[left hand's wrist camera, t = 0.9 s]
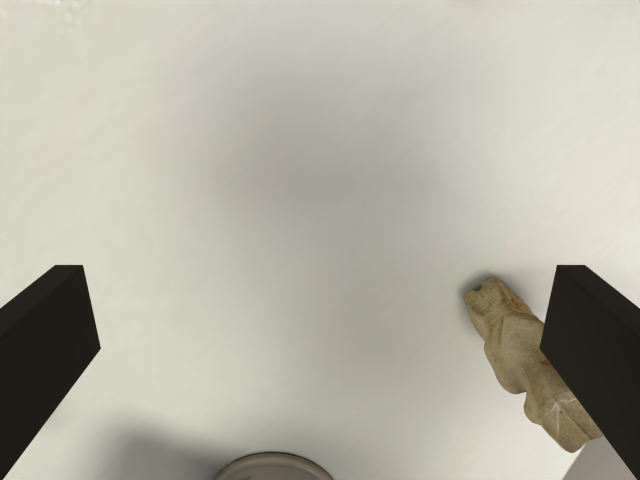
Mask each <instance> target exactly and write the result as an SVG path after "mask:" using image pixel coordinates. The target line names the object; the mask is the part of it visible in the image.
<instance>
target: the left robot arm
mask: <svg viewBox="0 0 640 480" xmlns="http://www.w3.org/2000/svg"><path fill="white" fill-rule="evenodd" d="M100 349H101V347H100V342H99V338H98V333H97V328H96V324H95V319H94V314H93V310H92V305H91V300H90V296H89V291H88V286H87V282H86V277H85V273H84V268H83V265H55V266H53V267H52V268H51V269H50V270H48V271H47V272H46V273H45V274H43V275H42V276H41V277H40V278H38V279H37V280H36V281H34V282H33V283H32V284H31V285H29V286H28V287H27V288H26V289H24V290H23V291H22V292H21V293H19V294H18V295H17V296H16V297H14V298H13V299H12V300H11V301H9V302H8V303H7V304H5V305H4V306H3V307H2V308H0V480H3V479H4V477H5V476H6V475H7V473H8V472H9V471H10V469H11V468H12V467H13V465H14V464H15V463H16V461H17V460H18V459H19V457H20V456H21V455H22V453H23V452H24V451H25V449H26V448H27V447H28V445H29V444H30V443H31V441H32V440H33V439H34V437H35V436H36V435H37V433H38V432H39V431H40V429H41V428H42V427H43V425H44V424H45V423H46V421H47V420H48V419H49V417H50V416H51V415H52V413H53V412H54V410H55V409H56V408H57V406H58V405H59V404H60V402H61V401H62V400H63V398H64V397H65V396H66V394H67V393H68V392H69V390H70V389H71V388H72V386H73V385H74V384H75V382H76V381H77V380H78V378H79V377H80V376H81V374H82V373H83V372H84V370H85V369H86V368H87V366H88V365H89V364H90V362H91V361H92V360H93V358H94V357H95V356H96V354H97V353H98V352H99V350H100ZM539 349H540V350H541V352H542V353H543V354H544V356H545V357H546V358H547V360H548V361H549V362H550V364H551V365H552V366H553V368H554V369H555V370H556V372H557V373H558V374H559V376H560V377H561V378H562V380H563V381H564V382H565V384H566V385H567V386H568V388H569V389H570V390H571V392H572V393H573V394H574V396H575V397H576V398H577V400H578V401H579V402H580V404H581V405H582V406H583V408H584V409H585V410H586V412H587V413H588V415H589V416H590V417H591V419H592V420H593V421H594V423H595V424H596V425H597V427H598V428H599V429H600V431H601V432H602V433H603V435H604V436H605V437H606V439H607V440H608V441H609V443H610V444H611V445H612V447H613V448H614V449H615V451H616V452H617V453H618V455H619V456H620V457H621V459H622V460H623V461H624V463H625V464H626V465H627V467H628V468H629V469H630V471H631V472H632V473H633V475H634V476H635V477H636V479H637V480H640V308H638V307H637V306H636V305H635V304H633V303H632V302H631V301H629V300H628V299H627V298H626V297H624V296H623V295H622V294H621V293H619V292H618V291H617V290H616V289H614V288H613V287H612V286H611V285H609V284H608V283H607V282H606V281H604V280H603V279H602V278H600V277H599V276H598V275H597V274H595V273H594V272H593V271H592V270H590V269H589V268H588V267H587V266H585V265H557V268H556V272H555V277H554V282H553V286H552V291H551V296H550V300H549V305H548V310H547V314H546V319H545V324H544V328H543V333H542V338H541V342H540V347H539ZM215 480H332V479H331V478H330V477H329V475H328V474H327V473H326V472H325V471H323V470H322V469H321V468H320V467H318V466H317V465H315V464H313V463H311V462H309V461H307V460H305V459H302V458H299V457H296V456H292V455H287V454H280V453H264V454H256V455H251V456H247V457H244V458H241V459H239V460H237V461H235V462H233V463H231V464H230V465H228V466H227V467H225V468H224V469H223V470H222V471H221V472H220V473H219V474H218V475H217V477H216V478H215Z"/></svg>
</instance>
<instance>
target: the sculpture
mask: <svg viewBox="0 0 640 480" xmlns="http://www.w3.org/2000/svg"><path fill="white" fill-rule="evenodd" d="M463 299H464V301H465V303H466V305H467V308H468V312H469V315H470V318H471V321H472V323H473V325H474V327H475V328H476V330H477V332H478V333H479V335H480V336H481V337H482V338H483V339H484V340H485V346H484V350H485V354H486V356H487V358H488V360H489V362H490V364H491V366H492V368H493V370H494V372H495V375H496V377H497V379H498V381H499V383H500V384H501V386H502V387H503V388H504V389H505V390H507V391H508V392H510V393H512V394H520V393H523V392H526V400H525V403H524V412H525V415H526V416H527V418H528V419H529V420H530V421H532V422H533V423H536V424H539V425H542V427H543V428H544V430H545V431H546V432H547V433H548V434H549V435H550V436H551V437H552V438H553V439H554V440H555V441H556V442H557V443H558V444H559V445H560V446H561V447H562V448H563V449H564V450H566V451H568V452H570V453H574V452H576V451H577V450H579V449H580V448H581V447H582V446H583V445H584V444H585V443H586V442H588V441H590V440H592V439H596V438H600V437H602V436H604V435H603V433H602V432H601V431H600V429H599V428H598V427H597V425H596V424H595V423H594V421H593V420H592V419H591V417H590V416H589V415H588V413H587V412H586V410H585V409H584V408H583V406H582V405H581V404H580V402H579V401H578V400H577V398H576V397H575V396H574V394H573V393H572V392H571V390H570V389H569V388H568V386H567V385H566V384H565V382H564V381H563V380H562V378H561V377H560V376H559V374H558V373H557V372H556V370H555V369H554V368H553V366H552V365H551V364H550V362H549V361H548V360H547V358H546V357H545V356H544V354H543V353H542V352H541V350H540V349H539V347H540V342H541V338H542V333H543V328H544V323H543V322H542V321H540V320H539V319H538V318H537V317H536V316H535V315H533V313H532V311H531V310H530V308H529V307H528V306H527V304H526V303H525V302H524V301H523V300H522V299H520V298H519V297H518V296H517V295H516V294H515V293H514V292H512V291H511V290H510V289H508V288H507V287H505V286H504V285H503V284H502V283H501V282H500V281H498V280H497V279H496V278H494V277H491V278H489V279H487V280H486V281H484V282H483V283H482V288H481V289H480V290H479V291H475V290H471V291H469V292H468V293H467V294H465V295H464V297H463Z"/></svg>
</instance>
